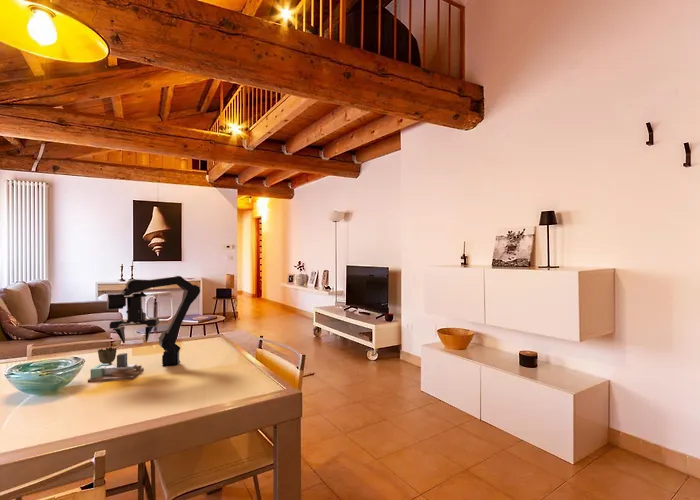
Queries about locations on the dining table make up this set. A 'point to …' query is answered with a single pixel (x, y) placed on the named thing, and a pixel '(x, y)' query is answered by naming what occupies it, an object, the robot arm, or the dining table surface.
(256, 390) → the dining table surface
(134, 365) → the grey t-shaped block
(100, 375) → the socket block
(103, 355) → the cup
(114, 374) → the slide base
